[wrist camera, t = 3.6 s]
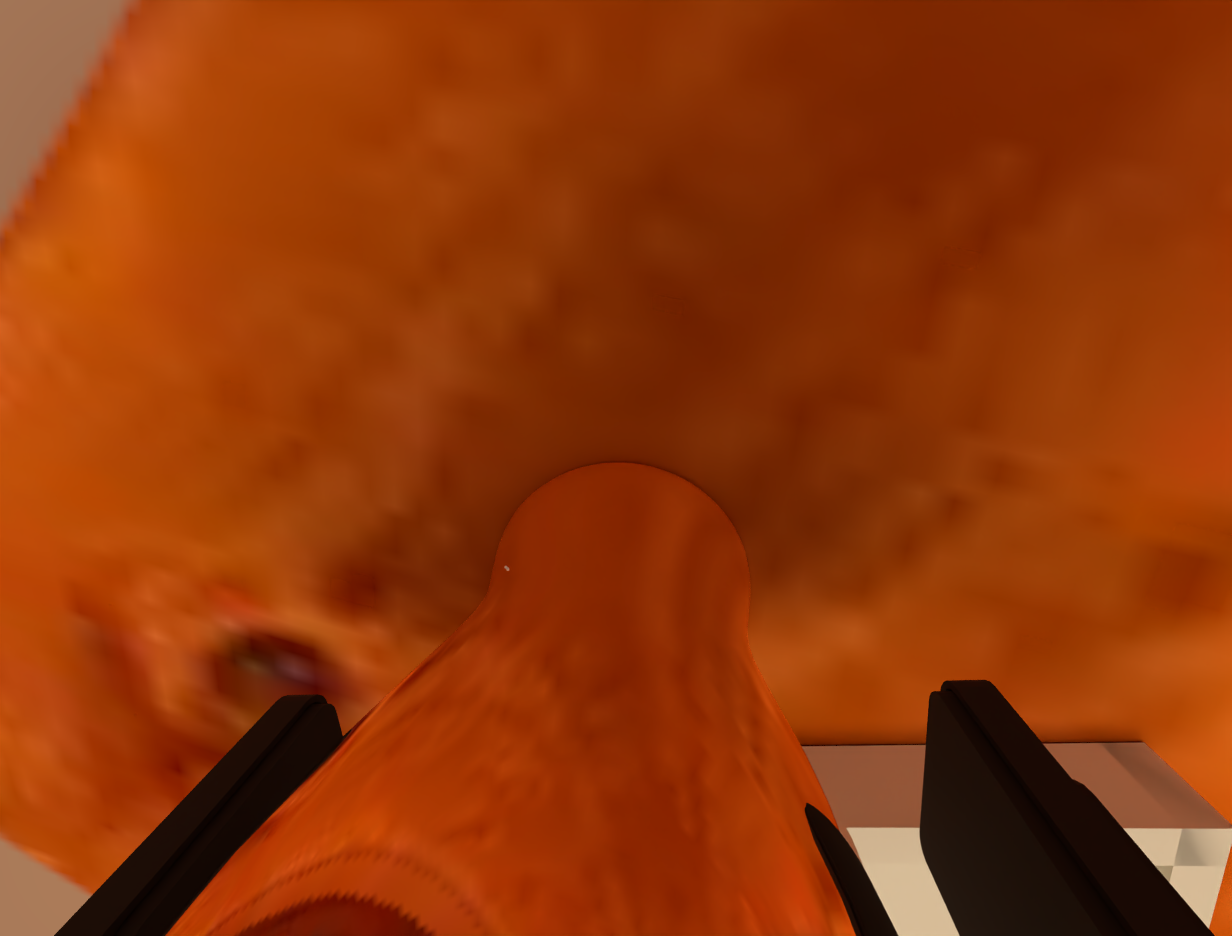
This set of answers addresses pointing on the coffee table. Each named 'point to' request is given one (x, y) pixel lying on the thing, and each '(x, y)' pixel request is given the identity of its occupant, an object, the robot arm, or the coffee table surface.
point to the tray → (1114, 772)
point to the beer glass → (567, 758)
